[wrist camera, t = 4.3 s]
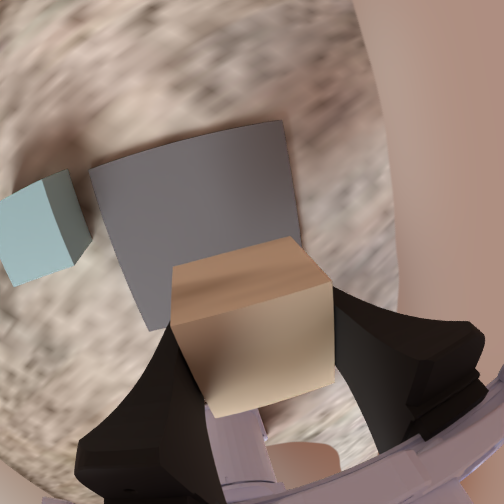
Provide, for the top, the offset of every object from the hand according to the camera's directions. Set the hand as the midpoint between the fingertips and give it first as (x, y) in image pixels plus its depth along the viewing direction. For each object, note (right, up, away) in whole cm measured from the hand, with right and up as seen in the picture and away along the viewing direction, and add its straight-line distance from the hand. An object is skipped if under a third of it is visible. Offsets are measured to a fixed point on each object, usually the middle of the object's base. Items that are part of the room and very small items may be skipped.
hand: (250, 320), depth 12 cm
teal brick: (-13, +5, +4) cm, 15 cm away
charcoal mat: (-3, +4, +7) cm, 9 cm away
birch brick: (0, +1, +1) cm, 2 cm away
